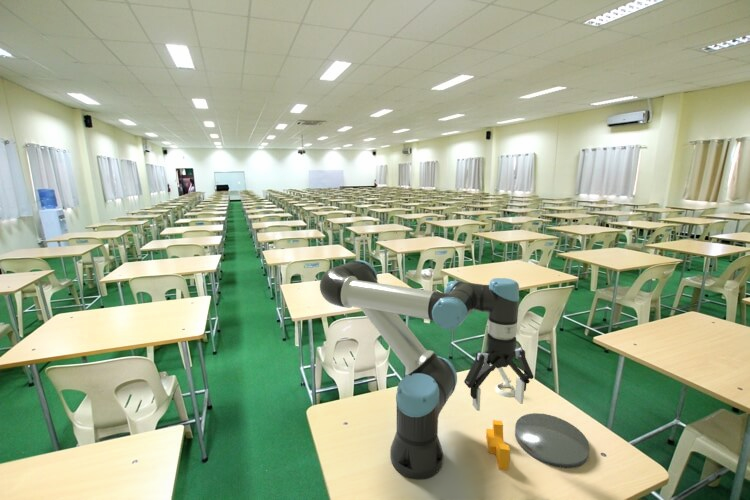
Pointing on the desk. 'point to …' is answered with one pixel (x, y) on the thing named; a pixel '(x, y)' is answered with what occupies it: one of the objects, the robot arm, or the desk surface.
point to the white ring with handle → (506, 384)
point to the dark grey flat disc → (552, 440)
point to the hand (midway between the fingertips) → (497, 404)
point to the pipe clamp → (498, 445)
